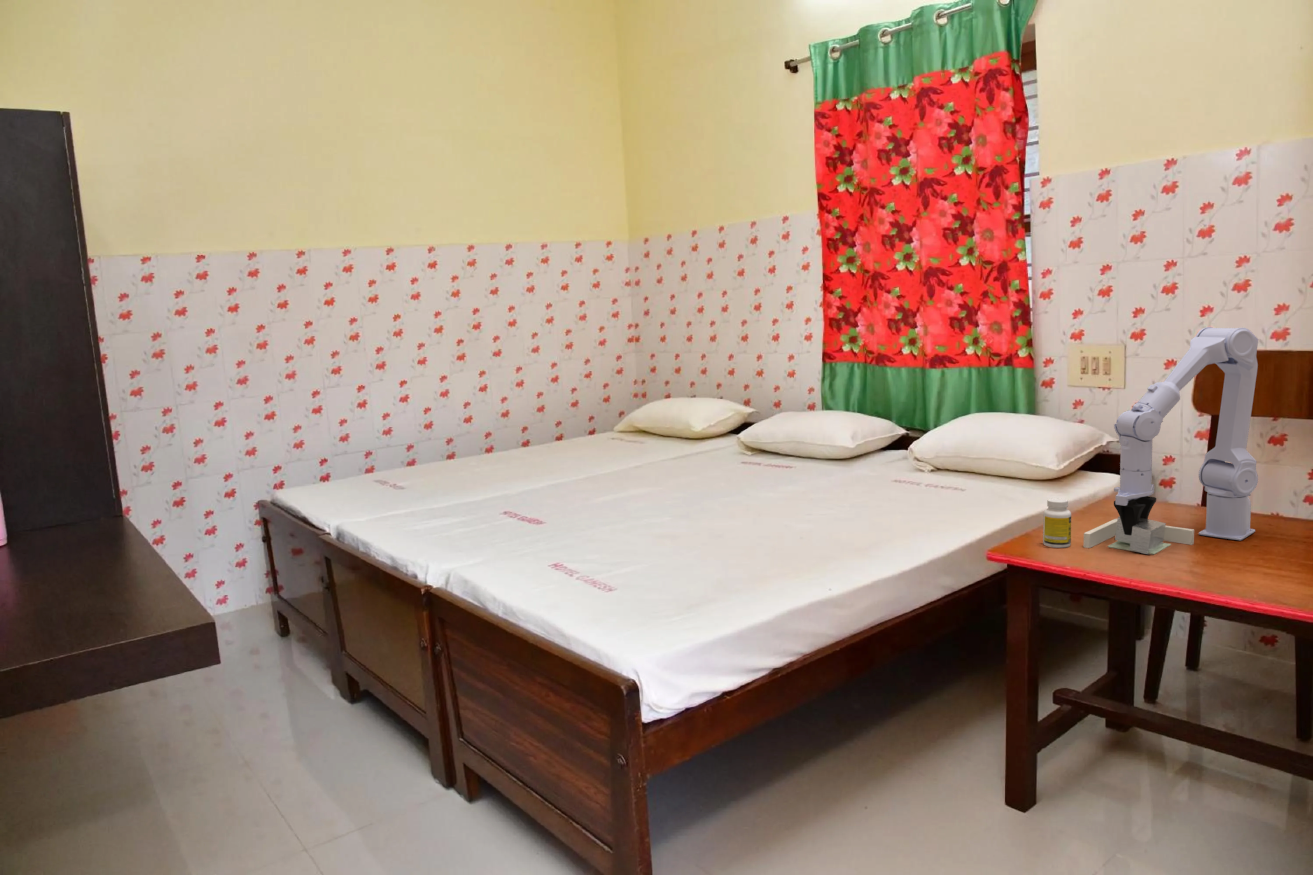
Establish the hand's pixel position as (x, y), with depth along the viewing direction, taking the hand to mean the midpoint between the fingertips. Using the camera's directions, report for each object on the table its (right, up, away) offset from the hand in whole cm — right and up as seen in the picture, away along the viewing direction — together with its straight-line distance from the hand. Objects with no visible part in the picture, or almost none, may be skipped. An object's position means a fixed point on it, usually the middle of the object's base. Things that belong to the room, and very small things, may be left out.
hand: (1134, 532), depth 183 cm
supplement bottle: (-14, -3, +4) cm, 15 cm away
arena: (+1, -3, 0) cm, 3 cm away
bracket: (-1, -2, -2) cm, 3 cm away
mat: (+1, -3, 0) cm, 3 cm away
